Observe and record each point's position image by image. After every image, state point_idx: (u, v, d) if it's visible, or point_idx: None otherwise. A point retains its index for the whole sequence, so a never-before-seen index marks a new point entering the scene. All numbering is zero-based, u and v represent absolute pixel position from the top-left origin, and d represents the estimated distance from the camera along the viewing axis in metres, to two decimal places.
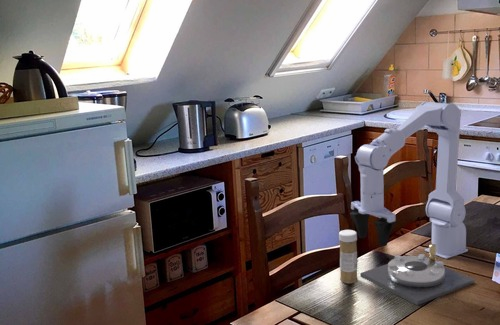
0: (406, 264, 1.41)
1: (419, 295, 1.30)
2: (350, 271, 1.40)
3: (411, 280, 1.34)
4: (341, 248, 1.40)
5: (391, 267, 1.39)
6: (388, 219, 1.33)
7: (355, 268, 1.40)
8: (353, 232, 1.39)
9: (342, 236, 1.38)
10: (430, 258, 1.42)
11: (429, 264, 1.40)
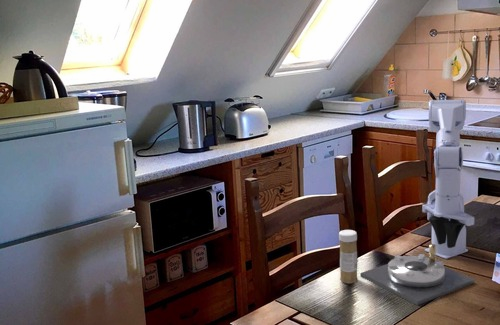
0: (406, 264, 1.41)
1: (419, 295, 1.30)
2: (350, 271, 1.40)
3: (411, 280, 1.34)
4: (341, 248, 1.40)
5: (391, 267, 1.39)
6: (467, 222, 1.30)
7: (355, 268, 1.40)
8: (353, 232, 1.39)
9: (342, 236, 1.38)
10: (430, 258, 1.42)
11: (429, 264, 1.40)
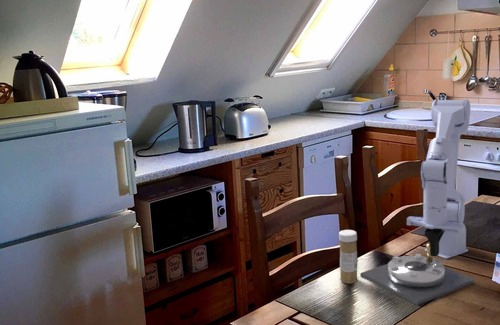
0: (406, 265, 1.41)
1: (419, 295, 1.30)
2: (350, 271, 1.40)
3: (415, 280, 1.34)
4: (341, 248, 1.40)
5: (393, 268, 1.38)
6: (460, 231, 1.35)
7: (355, 268, 1.40)
8: (353, 232, 1.39)
9: (342, 236, 1.38)
10: (428, 257, 1.43)
11: (428, 264, 1.41)
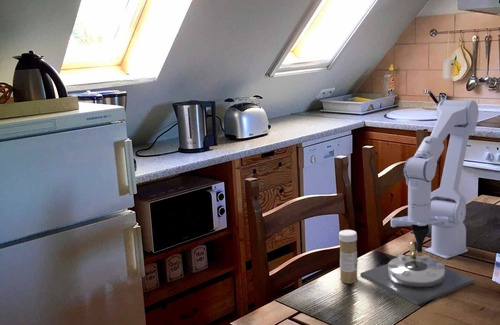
0: (408, 267, 1.39)
1: (419, 295, 1.30)
2: (350, 271, 1.40)
3: (435, 279, 1.34)
4: (341, 248, 1.40)
5: (408, 274, 1.34)
6: (447, 223, 1.42)
7: (355, 268, 1.40)
8: (353, 232, 1.39)
9: (342, 236, 1.38)
10: (413, 255, 1.45)
11: (419, 261, 1.43)
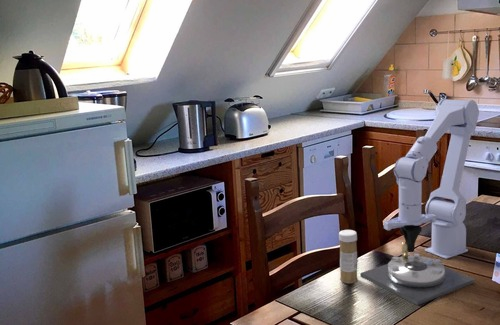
0: (411, 268, 1.38)
1: (419, 295, 1.30)
2: (350, 271, 1.40)
3: (442, 276, 1.35)
4: (341, 248, 1.40)
5: (418, 275, 1.34)
6: (434, 219, 1.45)
7: (355, 268, 1.40)
8: (353, 232, 1.39)
9: (342, 236, 1.38)
10: (406, 255, 1.45)
11: (414, 260, 1.43)
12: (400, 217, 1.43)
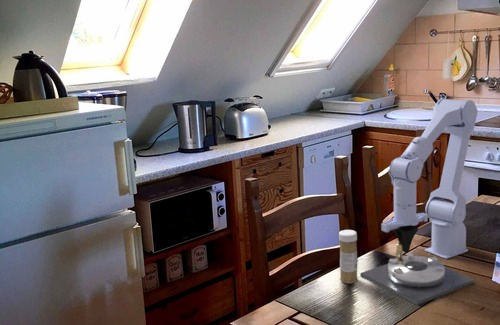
0: (414, 269, 1.38)
1: (419, 295, 1.30)
2: (350, 271, 1.40)
3: (444, 273, 1.37)
4: (341, 248, 1.40)
5: None
6: (426, 218, 1.46)
7: (355, 268, 1.40)
8: (353, 232, 1.39)
9: (342, 236, 1.38)
10: (401, 256, 1.44)
11: (410, 260, 1.43)
12: (396, 218, 1.42)
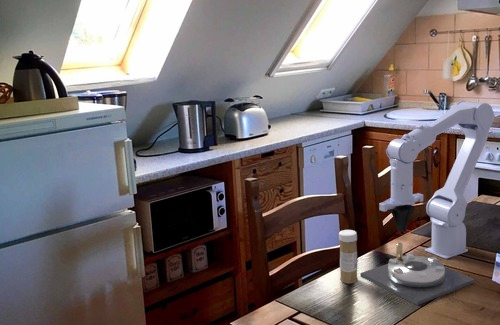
0: (414, 269, 1.38)
1: (419, 295, 1.30)
2: (350, 271, 1.40)
3: (444, 273, 1.37)
4: (341, 248, 1.40)
5: None
6: (422, 198, 1.50)
7: (355, 268, 1.40)
8: (353, 232, 1.39)
9: (342, 236, 1.38)
10: (401, 256, 1.44)
11: (410, 260, 1.43)
12: (393, 198, 1.46)
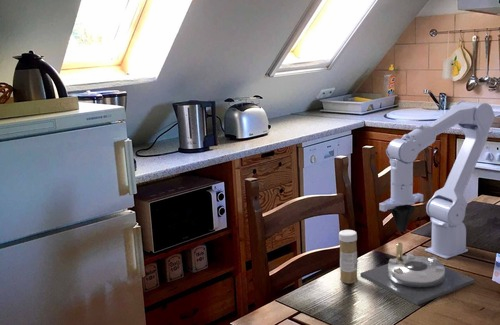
0: (414, 269, 1.38)
1: (419, 295, 1.30)
2: (350, 271, 1.40)
3: (444, 273, 1.37)
4: (341, 248, 1.40)
5: None
6: (422, 198, 1.50)
7: (355, 268, 1.40)
8: (353, 232, 1.39)
9: (342, 236, 1.38)
10: (401, 256, 1.44)
11: (410, 260, 1.43)
12: (393, 198, 1.46)
